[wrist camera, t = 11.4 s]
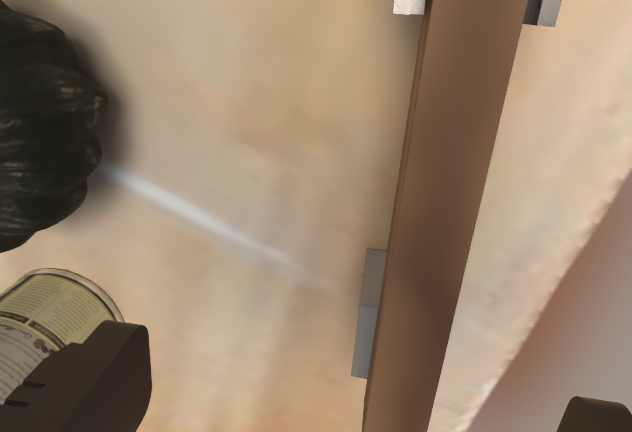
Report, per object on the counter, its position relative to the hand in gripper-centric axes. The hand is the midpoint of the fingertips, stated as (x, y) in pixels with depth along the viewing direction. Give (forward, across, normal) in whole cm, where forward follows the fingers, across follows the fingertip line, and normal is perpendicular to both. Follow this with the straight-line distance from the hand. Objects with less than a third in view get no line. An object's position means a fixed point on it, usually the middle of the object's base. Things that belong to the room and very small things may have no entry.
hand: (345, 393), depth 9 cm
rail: (+15, -3, +2) cm, 16 cm away
